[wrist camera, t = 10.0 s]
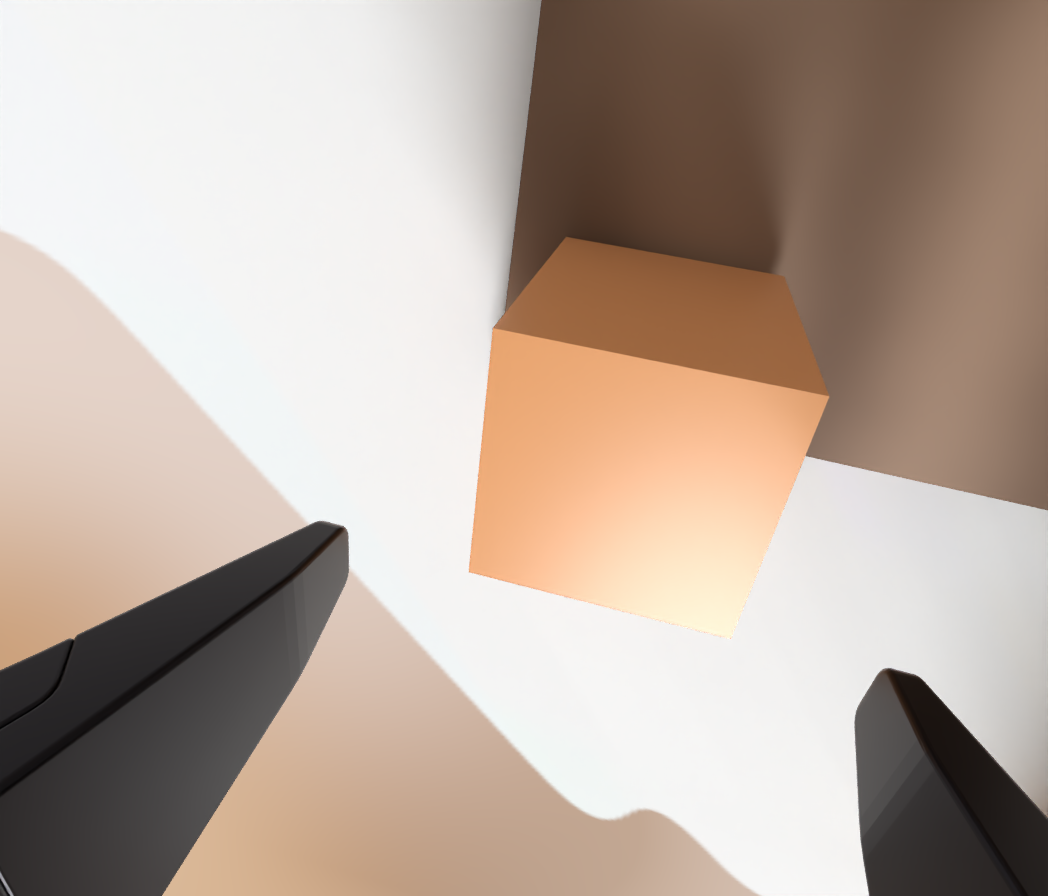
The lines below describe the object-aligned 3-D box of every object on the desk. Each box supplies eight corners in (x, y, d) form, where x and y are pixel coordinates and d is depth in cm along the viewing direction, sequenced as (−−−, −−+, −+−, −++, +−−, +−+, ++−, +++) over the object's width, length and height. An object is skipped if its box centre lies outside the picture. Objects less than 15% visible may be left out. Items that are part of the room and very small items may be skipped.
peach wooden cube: (784, 276, 15) (829, 396, 10) (722, 462, 18) (730, 639, 12) (565, 237, 16) (492, 327, 10) (538, 421, 19) (469, 571, 13)
